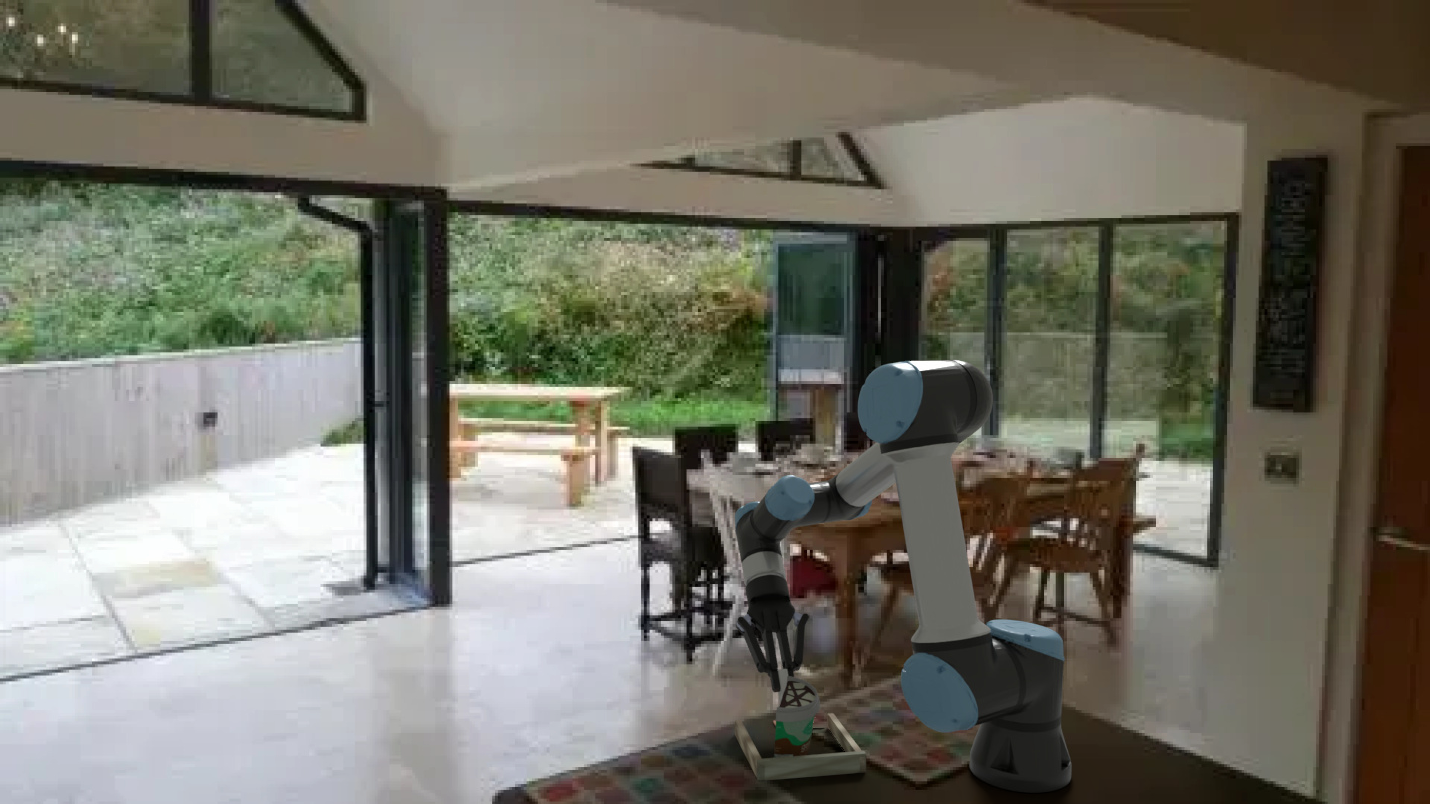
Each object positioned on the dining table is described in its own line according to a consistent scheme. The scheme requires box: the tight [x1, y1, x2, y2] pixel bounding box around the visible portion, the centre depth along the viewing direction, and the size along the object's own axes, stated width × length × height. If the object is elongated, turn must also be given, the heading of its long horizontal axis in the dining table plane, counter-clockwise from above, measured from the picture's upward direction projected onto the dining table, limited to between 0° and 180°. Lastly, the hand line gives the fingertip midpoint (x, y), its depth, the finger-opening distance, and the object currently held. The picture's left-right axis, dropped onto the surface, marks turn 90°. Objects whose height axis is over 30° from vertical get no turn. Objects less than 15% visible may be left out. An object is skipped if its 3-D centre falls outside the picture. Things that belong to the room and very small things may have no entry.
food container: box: [773, 676, 821, 758], centre depth 175 cm, size 12×6×10 cm, turn 168°
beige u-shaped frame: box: [734, 712, 867, 781], centre depth 176 cm, size 18×17×3 cm
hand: (787, 709), depth 181 cm, fingers closed
